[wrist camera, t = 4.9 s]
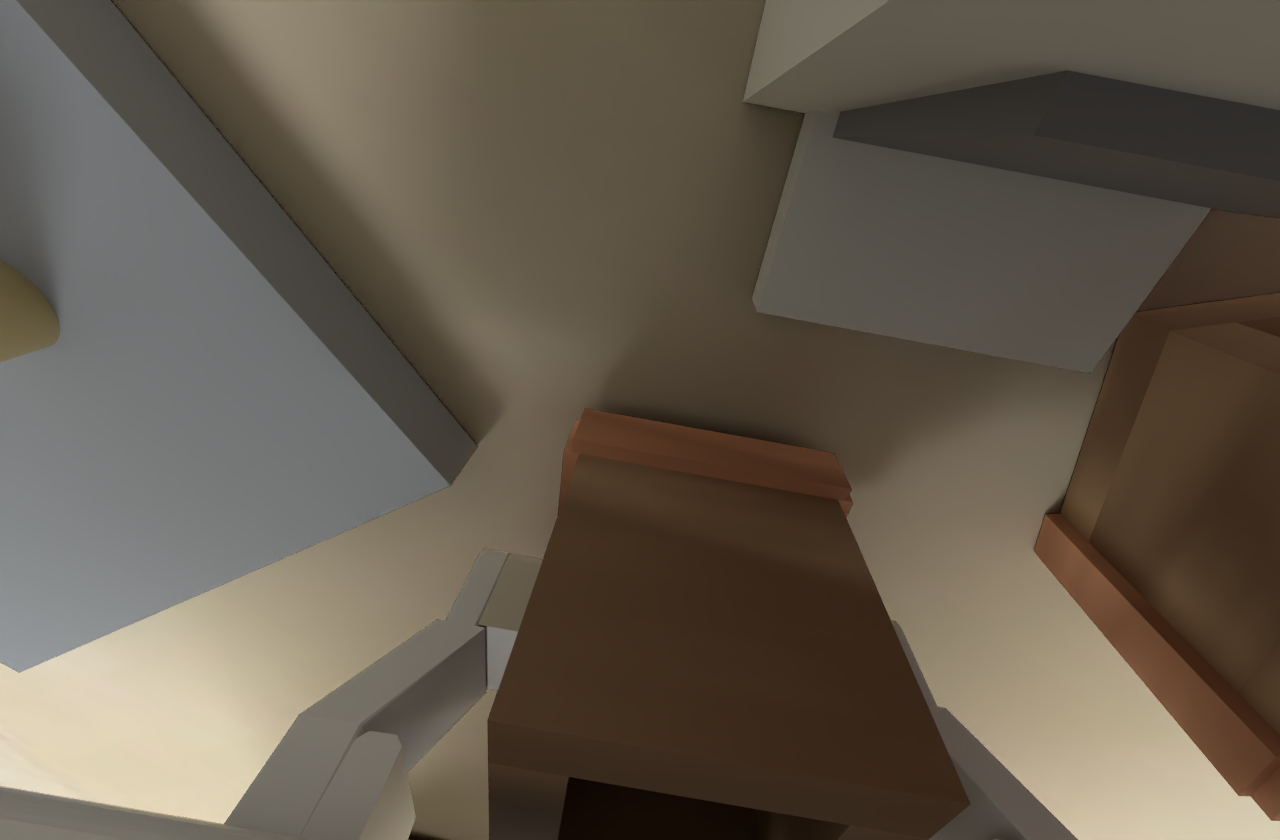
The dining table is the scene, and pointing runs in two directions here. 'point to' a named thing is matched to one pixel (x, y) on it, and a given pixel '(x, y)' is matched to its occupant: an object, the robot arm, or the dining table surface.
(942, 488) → the dining table surface
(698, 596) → the sleeve
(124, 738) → the dining table surface
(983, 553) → the dining table surface
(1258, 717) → the sleeve
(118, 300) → the pin board
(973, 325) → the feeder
